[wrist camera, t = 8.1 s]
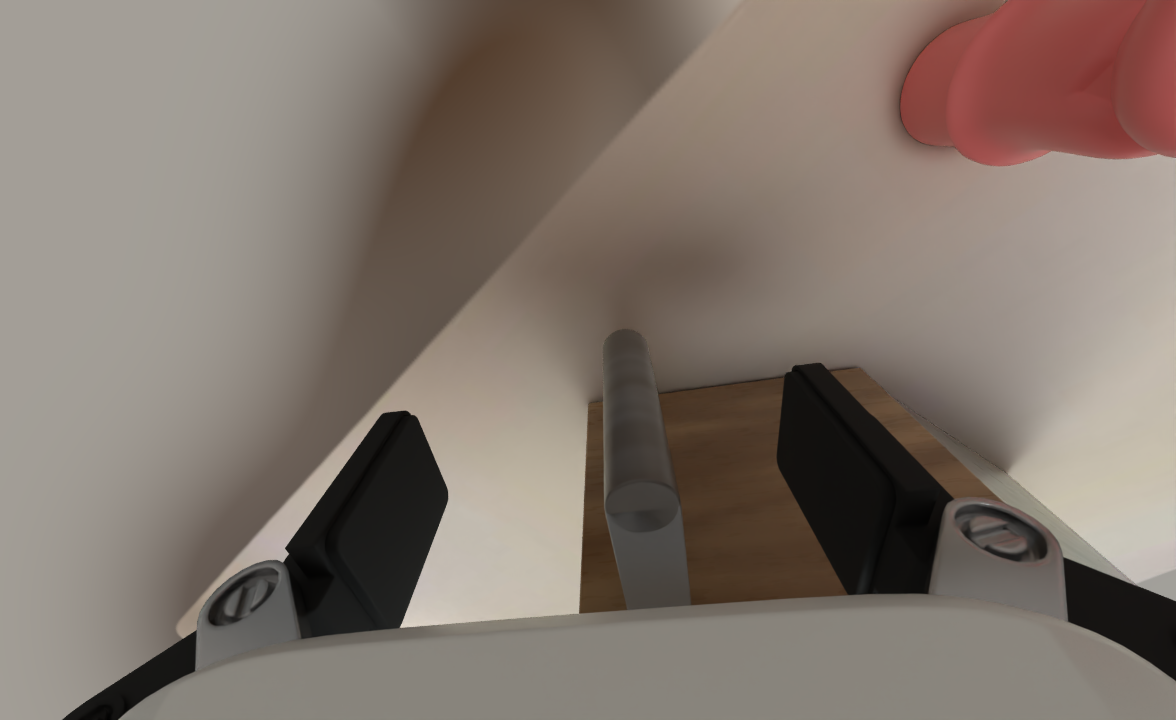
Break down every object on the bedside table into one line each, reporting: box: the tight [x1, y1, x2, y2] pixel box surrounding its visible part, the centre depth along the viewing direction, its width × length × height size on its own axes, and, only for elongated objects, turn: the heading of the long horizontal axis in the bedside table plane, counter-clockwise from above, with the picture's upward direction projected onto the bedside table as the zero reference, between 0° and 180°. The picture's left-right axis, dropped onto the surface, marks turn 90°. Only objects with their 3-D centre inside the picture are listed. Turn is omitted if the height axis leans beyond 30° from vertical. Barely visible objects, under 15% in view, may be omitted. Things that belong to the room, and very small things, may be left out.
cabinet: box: [892, 397, 1137, 586], centre depth 19 cm, size 12×14×16 cm
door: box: [579, 329, 1004, 614], centre depth 14 cm, size 7×14×16 cm, turn 100°
